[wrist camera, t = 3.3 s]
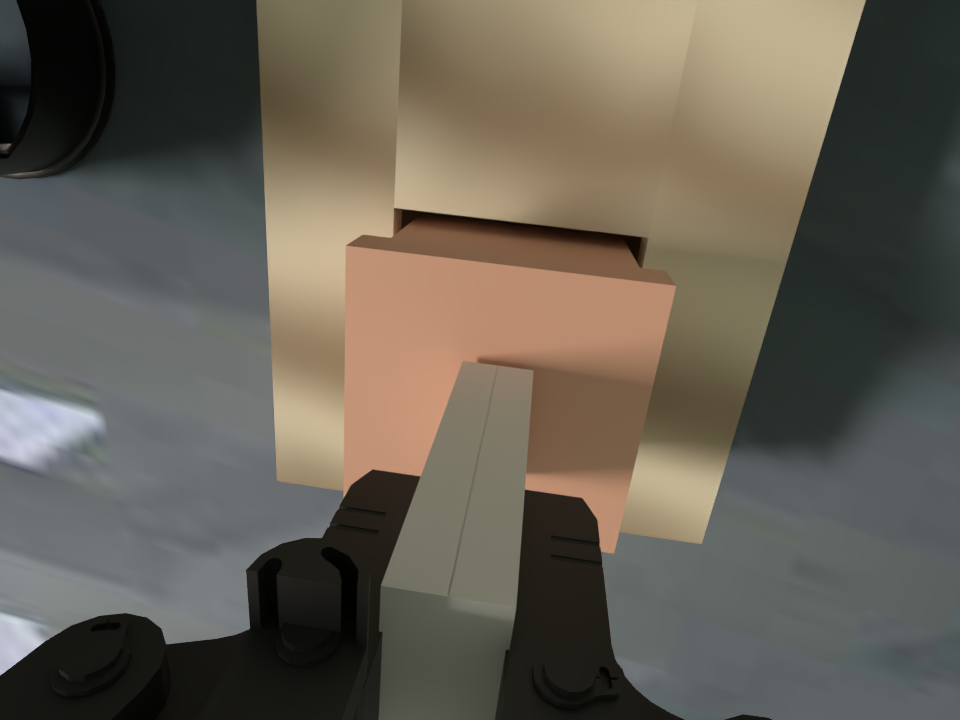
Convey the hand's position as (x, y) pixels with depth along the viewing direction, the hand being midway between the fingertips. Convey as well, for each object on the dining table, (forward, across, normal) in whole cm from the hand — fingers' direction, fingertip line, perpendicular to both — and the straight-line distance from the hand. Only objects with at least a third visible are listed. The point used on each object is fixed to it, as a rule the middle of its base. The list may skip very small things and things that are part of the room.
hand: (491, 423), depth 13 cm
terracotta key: (+7, 0, 0) cm, 7 cm away
